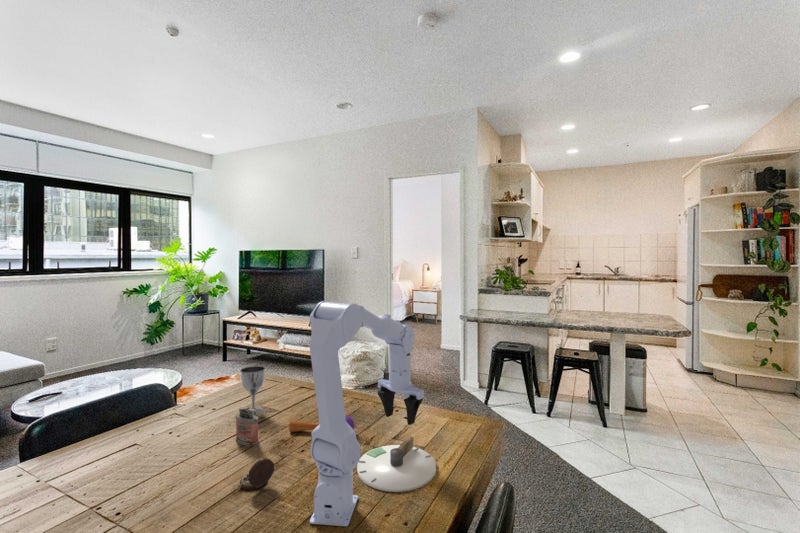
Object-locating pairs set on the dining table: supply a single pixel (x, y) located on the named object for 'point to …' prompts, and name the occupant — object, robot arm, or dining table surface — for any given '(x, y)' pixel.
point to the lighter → (247, 427)
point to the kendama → (312, 425)
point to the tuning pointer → (401, 452)
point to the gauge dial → (396, 469)
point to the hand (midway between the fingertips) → (400, 419)
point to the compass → (257, 475)
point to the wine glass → (253, 382)
